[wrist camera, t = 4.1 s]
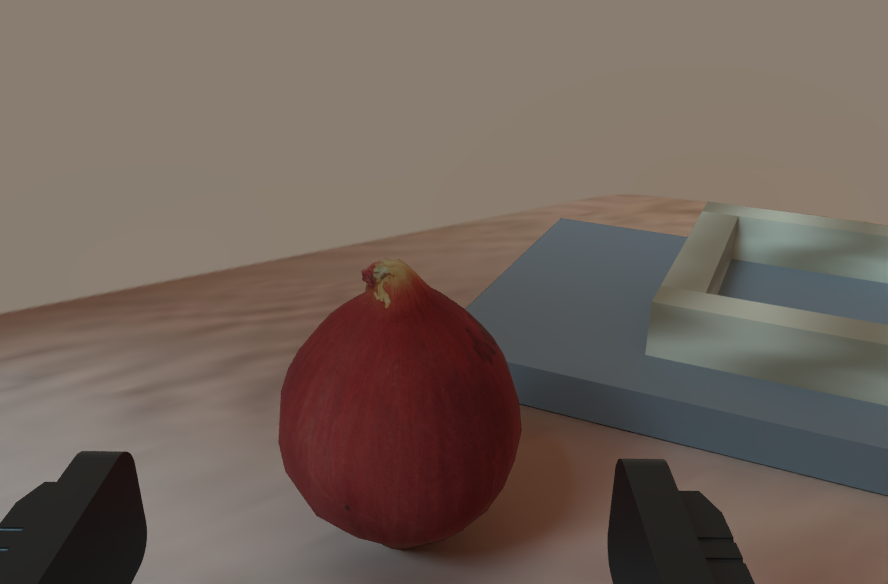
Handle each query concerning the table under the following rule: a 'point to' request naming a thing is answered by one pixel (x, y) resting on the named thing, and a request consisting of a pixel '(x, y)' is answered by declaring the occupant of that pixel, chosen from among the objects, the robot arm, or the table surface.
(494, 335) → the build board
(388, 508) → the onion
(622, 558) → the robot arm
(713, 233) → the square frame
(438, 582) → the table surface
